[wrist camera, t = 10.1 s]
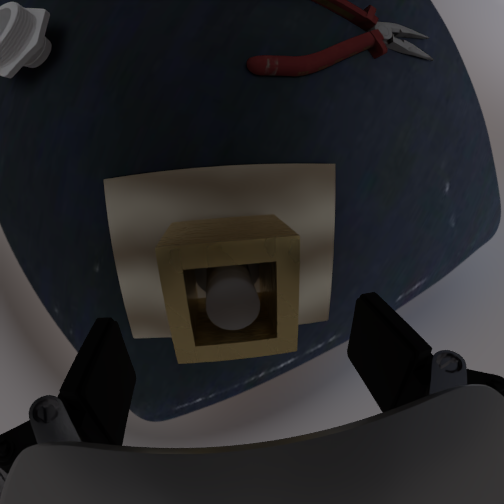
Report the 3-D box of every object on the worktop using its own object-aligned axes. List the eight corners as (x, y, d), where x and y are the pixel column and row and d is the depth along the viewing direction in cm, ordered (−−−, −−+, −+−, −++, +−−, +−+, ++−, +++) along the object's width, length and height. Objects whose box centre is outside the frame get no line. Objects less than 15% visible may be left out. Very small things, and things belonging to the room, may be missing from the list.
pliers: (433, 97, 21) (449, 94, 19) (245, 81, 19) (250, 71, 17) (411, 11, 18) (424, 4, 15) (233, -18, 16) (236, -33, 13)
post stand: (108, 178, 20) (49, 190, 11) (329, 163, 22) (394, 168, 13) (136, 331, 24) (112, 400, 15) (323, 313, 26) (366, 374, 18)
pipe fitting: (71, 14, 14) (34, -21, 6) (60, 75, 16) (10, 51, 8) (22, 36, 13) (-20, 13, 5) (11, 95, 15) (-41, 84, 8)
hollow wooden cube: (171, 222, 18) (154, 248, 13) (273, 214, 19) (299, 235, 14) (184, 313, 21) (178, 363, 15) (275, 304, 21) (296, 350, 16)
